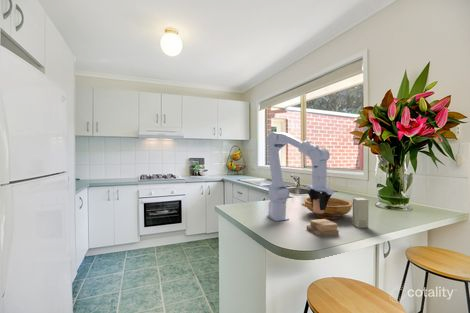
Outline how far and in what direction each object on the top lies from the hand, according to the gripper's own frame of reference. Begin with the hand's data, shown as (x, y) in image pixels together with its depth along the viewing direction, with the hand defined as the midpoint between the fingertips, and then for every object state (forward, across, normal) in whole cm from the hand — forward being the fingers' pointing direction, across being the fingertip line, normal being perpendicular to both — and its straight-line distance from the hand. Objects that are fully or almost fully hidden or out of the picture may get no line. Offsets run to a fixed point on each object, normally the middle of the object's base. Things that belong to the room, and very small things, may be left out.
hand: (318, 208), depth 94 cm
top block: (+8, +1, +2) cm, 8 cm away
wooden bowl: (+10, -19, +21) cm, 30 cm away
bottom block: (+11, +1, +1) cm, 11 cm away
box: (+10, 0, +23) cm, 26 cm away
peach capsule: (+1, 0, 0) cm, 1 cm away
